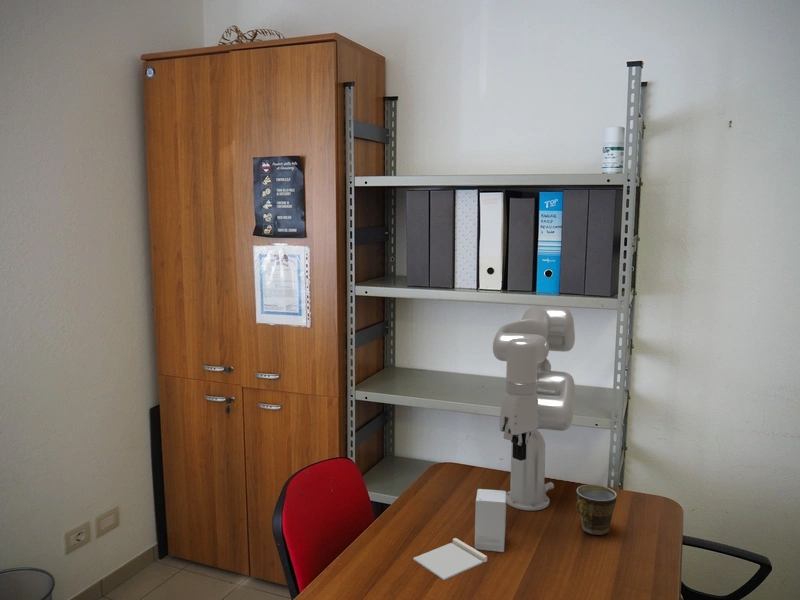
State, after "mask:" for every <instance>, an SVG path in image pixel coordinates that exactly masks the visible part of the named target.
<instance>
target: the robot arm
mask: <svg viewBox="0 0 800 600" xmlns="http://www.w3.org/2000/svg"><path fill="white" fill-rule="evenodd" d="M574 322H575V321H574V318H573V314H572V313H571V311H570V310H569V309H568V308H566V307H564V306H563V307H561V306H539V305H538V306H532V307H529V308H528V309H527V310H525V312H524V314H523V315H522V318H521V319H520V320H516V321H513V322H509V323H506V324H504V325H502V326H501V327H499V328H498V329H497V332H496V334H495V336H494V339H493V342H492V353H493V356H494V357H495V359H497V360H498V361H502V362H506V370H505V371H506V373H505V375H506V376H505V378H506V379H505V393H503V397H502V400H501V406H500V415H499V431H500V432H502V433H503V439H504V440H506V441H507V440H508V441H510V443H511V447H510V448H511V450H510V484H509V485H510V487H509V489H510V490H508V491H506V505H508V506H510V507H512V508H515V509H517V510H521V511H530V512H531V511H541V510H544V509H546V508H548V507H549V505H550V498H549V496H548V495H547V492H548V491H550V490H552V489H554V488H555V484H554V483H553V482H552V481H549V482H547V483H545V478H546V477H545V475H546V469H545V467H546V440H545V438H544V437H543V436H542V434H541V432H540V431H539V430H546V431H549V430H550V431H559V432H561V431H562V432H563V431H567V430H568V429H570V427H571V426H572V424H573V423H572V422H573V418H574V406H575V393H576V390H575V388H576V387H575V380H574V378H573V376H572V375H571V374H570V373H569V372H565V371H558V370H552V365H551V363H550V360H549V359H548V358H547V357H548V356H549V353H550V352H562V353H563V352H570V351H571V350H572V349H573V348H574V345H575V341H576V334H575V323H574Z"/></svg>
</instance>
